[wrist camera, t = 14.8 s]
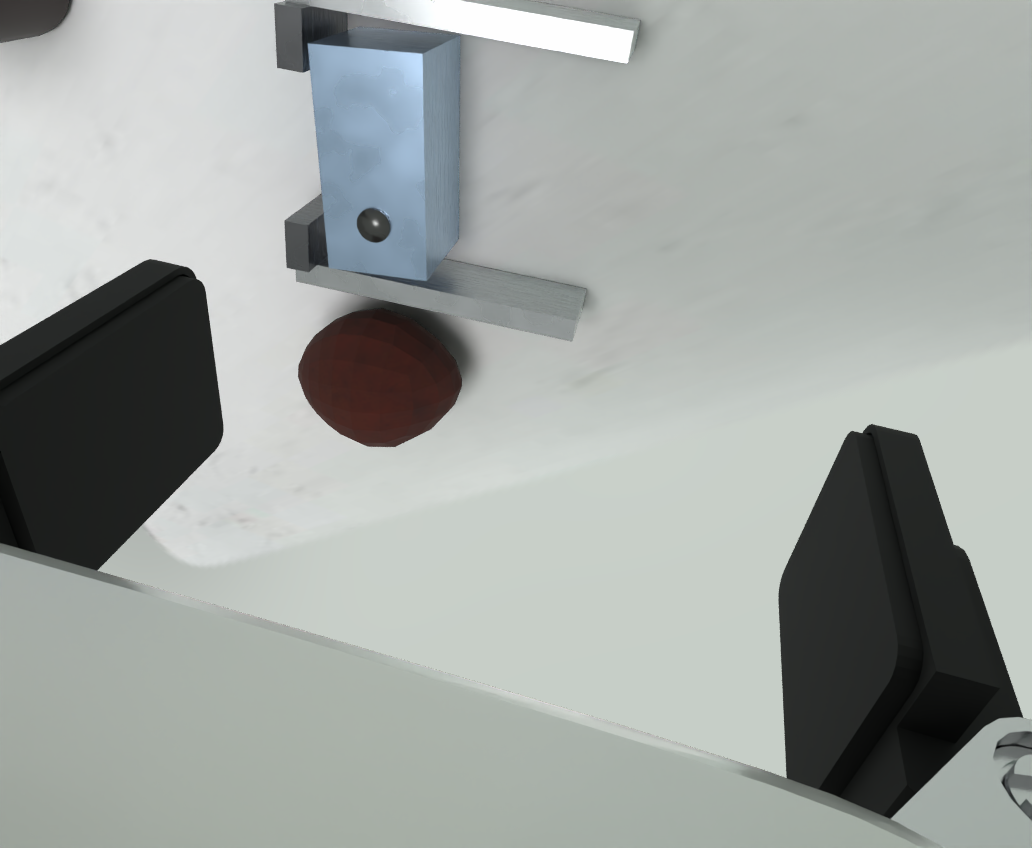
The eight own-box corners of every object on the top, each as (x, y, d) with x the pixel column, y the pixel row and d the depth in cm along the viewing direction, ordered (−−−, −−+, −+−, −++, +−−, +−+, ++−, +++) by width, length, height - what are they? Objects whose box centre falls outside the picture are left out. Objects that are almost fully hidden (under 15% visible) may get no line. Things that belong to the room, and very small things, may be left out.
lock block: (460, 34, 36) (421, 54, 31) (459, 238, 42) (425, 282, 37) (360, 26, 37) (305, 44, 32) (372, 227, 42) (327, 269, 37)
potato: (324, 276, 45) (261, 335, 38) (478, 297, 43) (439, 362, 37) (335, 392, 49) (281, 462, 43) (475, 414, 48) (440, 490, 42)
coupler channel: (640, 20, 34) (631, 34, 30) (582, 308, 42) (569, 350, 38) (322, -36, 35) (272, -29, 31) (326, 253, 44) (287, 289, 40)
